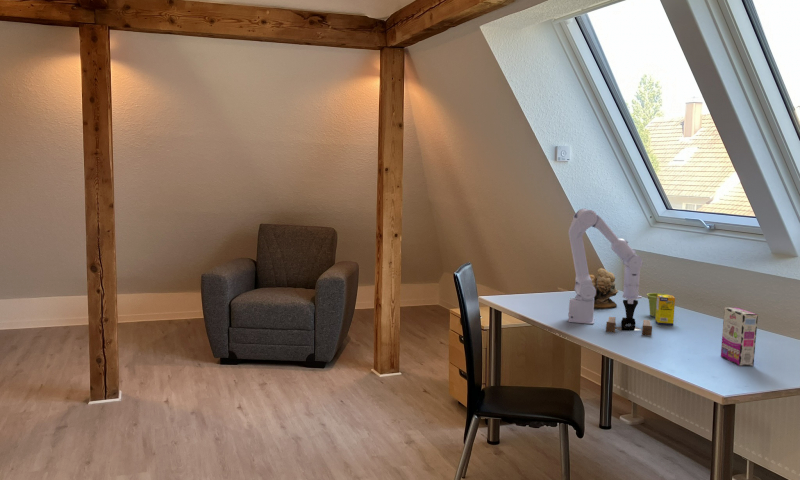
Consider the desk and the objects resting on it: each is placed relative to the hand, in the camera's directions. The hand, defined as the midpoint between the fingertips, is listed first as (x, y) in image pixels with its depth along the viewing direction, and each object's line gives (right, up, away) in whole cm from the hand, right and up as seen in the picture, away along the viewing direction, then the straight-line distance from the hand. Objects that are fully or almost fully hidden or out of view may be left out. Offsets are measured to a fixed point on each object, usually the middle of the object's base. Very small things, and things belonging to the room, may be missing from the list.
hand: (629, 318), depth 270 cm
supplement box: (+14, -2, 0) cm, 14 cm away
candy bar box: (+17, -8, -51) cm, 55 cm away
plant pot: (+16, -1, +14) cm, 22 cm away
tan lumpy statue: (-3, +2, +31) cm, 31 cm away
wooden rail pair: (-4, -3, -11) cm, 13 cm away
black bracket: (-4, -3, -10) cm, 11 cm away
